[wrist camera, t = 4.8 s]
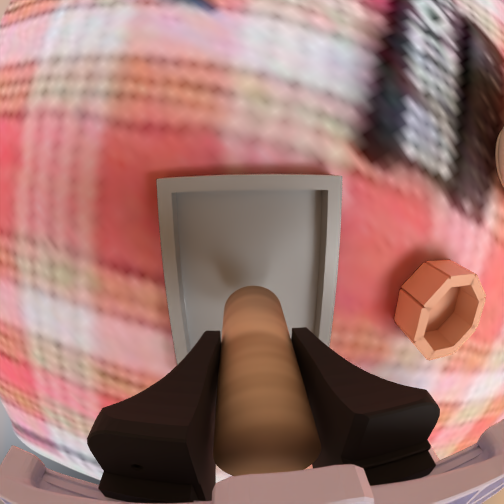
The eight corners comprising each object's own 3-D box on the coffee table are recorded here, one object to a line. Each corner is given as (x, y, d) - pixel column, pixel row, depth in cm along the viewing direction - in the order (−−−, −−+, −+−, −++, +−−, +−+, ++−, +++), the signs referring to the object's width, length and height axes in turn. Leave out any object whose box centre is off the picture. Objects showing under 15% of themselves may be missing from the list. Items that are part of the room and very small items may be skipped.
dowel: (281, 334, 16) (315, 474, 7) (226, 337, 16) (219, 481, 7) (281, 284, 15) (327, 418, 6) (221, 287, 15) (206, 427, 6)
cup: (450, 330, 21) (469, 349, 18) (389, 342, 21) (406, 365, 18) (467, 258, 19) (492, 271, 16) (404, 262, 19) (427, 278, 16)
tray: (318, 368, 21) (323, 383, 19) (185, 373, 21) (181, 388, 19) (332, 174, 17) (342, 175, 15) (164, 177, 17) (156, 178, 15)
